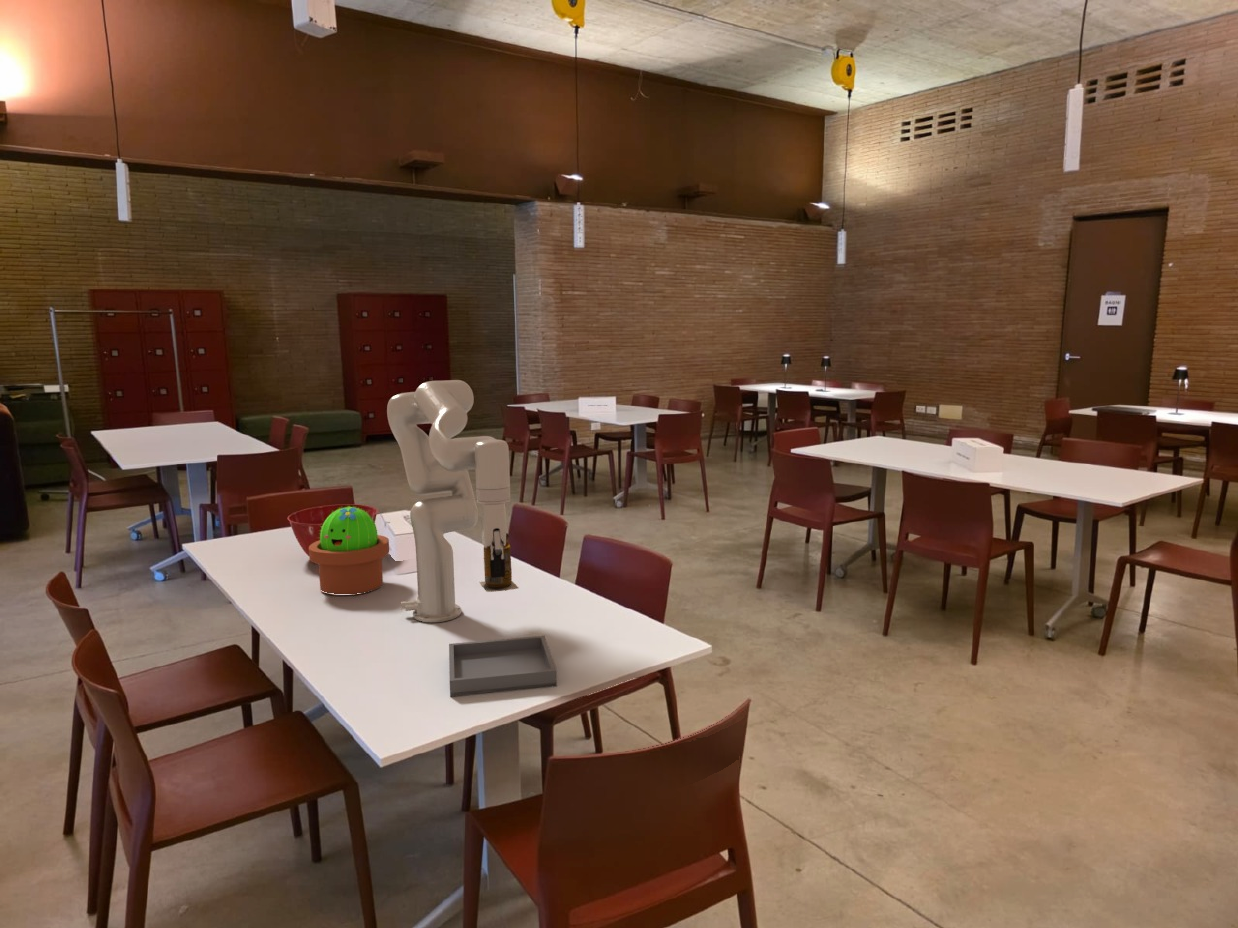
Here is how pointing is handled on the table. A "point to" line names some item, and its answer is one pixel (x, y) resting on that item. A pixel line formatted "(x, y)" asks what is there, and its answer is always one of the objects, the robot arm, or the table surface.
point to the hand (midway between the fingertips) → (496, 571)
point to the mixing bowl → (318, 522)
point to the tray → (500, 666)
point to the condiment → (498, 582)
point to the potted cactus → (349, 552)
